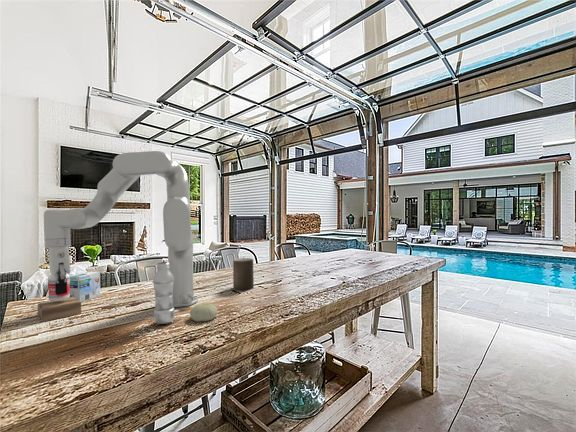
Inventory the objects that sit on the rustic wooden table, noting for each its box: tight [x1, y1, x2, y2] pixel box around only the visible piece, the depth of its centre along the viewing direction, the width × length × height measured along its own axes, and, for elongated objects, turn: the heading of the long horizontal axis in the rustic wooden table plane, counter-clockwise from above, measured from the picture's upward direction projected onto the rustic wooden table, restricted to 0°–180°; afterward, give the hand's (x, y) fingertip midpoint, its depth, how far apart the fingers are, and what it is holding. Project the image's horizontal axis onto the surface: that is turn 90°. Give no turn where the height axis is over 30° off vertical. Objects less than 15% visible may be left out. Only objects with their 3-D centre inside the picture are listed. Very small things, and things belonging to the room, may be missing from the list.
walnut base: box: [36, 297, 82, 323], centre depth 106 cm, size 11×11×4 cm
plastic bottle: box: [152, 261, 176, 325], centre depth 96 cm, size 6×7×20 cm
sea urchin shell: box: [189, 302, 218, 323], centre depth 100 cm, size 9×8×8 cm
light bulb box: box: [69, 270, 101, 303], centre depth 125 cm, size 11×7×11 cm, turn 168°
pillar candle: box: [232, 257, 255, 291], centre depth 139 cm, size 10×10×15 cm
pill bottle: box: [47, 269, 70, 301], centre depth 106 cm, size 6×6×11 cm
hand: (59, 291), depth 106 cm, fingers closed on pill bottle, 6 cm apart
